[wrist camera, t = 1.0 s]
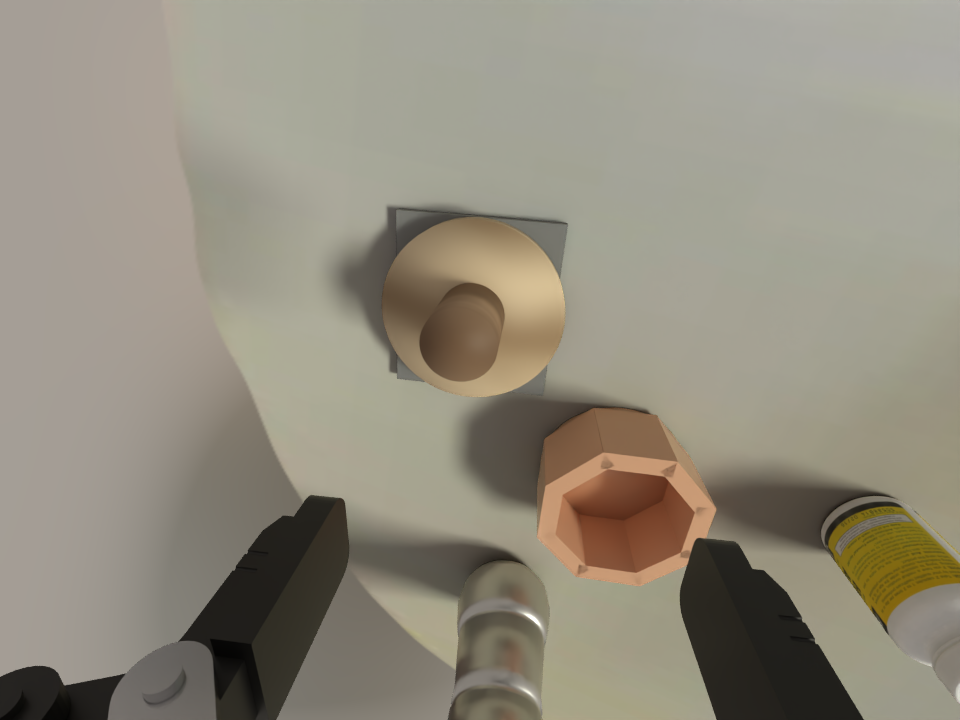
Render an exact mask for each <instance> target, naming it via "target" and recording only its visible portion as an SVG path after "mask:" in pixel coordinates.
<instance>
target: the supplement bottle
mask: <svg viewBox="0 0 960 720" xmlns="http://www.w3.org/2000/svg"><path fill="white" fill-rule="evenodd" d="M821 538H822V542H823V544H824V546H825V548H826V549H827V551H828V552H829V554H830V555H831V557H832V558H833V559H834V561H835V562H836V563H837V565H838V566H839V567H840V569H841V570H842V572H843V573H844V574H845V576H846V577H847V578H848V580H849V581H850V583H851V584H852V585H853V587H854V588H855V589H856V591H857V592H858V593H859V595H860V596H861V598H862V599H863V600H864V602H865V603H866V604H867V606H868V607H869V608H870V610H871V611H872V613H873V614H874V615H875V617H876V618H877V620H878V621H879V622H880V624H881V625H882V626H883V628H884V629H885V631H886V632H887V634H888V635H889V636H890V637H891V639H892V640H893V641H894V642H895V644H896V645H897V646H898V647H899V648H900V649H901V650H902V651H903V652H904V653H905V654H907V655H908V656H909V657H911V658H913V659H914V660H916V661H918V662H920V663H923V664H925V665H928V666H932V667H933V670H934V671H935V673H936V675H937V677H938V678H939V680H940V681H941V682H942V683H943V684H944V685H945V687H946V688H947V689H948V691H949V692H950V693H951V694H952V696H953V697H954V698H955V700H956V701H957V702H958V703H959V704H960V554H959V553H958V552H957V551H956V550H955V549H954V548H953V547H952V546H951V545H950V544H949V543H948V542H947V541H946V540H945V539H944V538H943V537H942V536H941V535H940V534H939V533H938V532H936V531H935V530H934V529H933V528H932V527H931V526H930V525H929V524H928V523H927V522H926V521H925V520H924V519H923V518H922V517H921V516H920V515H919V514H917V513H916V512H915V511H914V510H913V509H912V508H911V507H910V506H908V505H907V504H905V503H904V502H902V501H900V500H897V499H894V498H890V497H884V496H868V497H862V498H857V499H854V500H851V501H849V502H847V503H845V504H843V505H841V506H839V507H838V508H836V509H835V510H834V511H833V512H832V513H831V514H830V515H829V516H828V517H827V519H826V520H825V522H824V524H823V526H822V529H821Z"/></svg>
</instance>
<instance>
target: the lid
mask: <svg viewBox="0 0 960 720" xmlns="http://www.w3.org/2000/svg"><path fill="white" fill-rule="evenodd" d="M382 315H383V321H384V326H385V329H386V332H387V335H388V338H389V340H390V342H391V344H392V346H393V348H394V350H395V351H396V353H397V354H398V356H399V357H400V359H401V360H402V361H403V362H404V364H405V365H406V366H407V367H408V368H409V369H410V370H411V371H412V372H413V373H414V374H416V375H417V376H418V377H420V378H421V379H422V380H424V381H425V382H427V383H429V384H430V385H432V386H434V387H436V388H438V389H441V390H443V391H446V392H449V393H452V394H456V395H461V396H468V397H488V396H494V395H499V394H503V393H506V392H509V391H512V390H514V389H516V388H519V387H521V386H522V385H524V384H526V383H527V382H529V381H530V380H531V379H533V378H534V377H535V376H537V375H538V374H539V373H540V372H541V371H542V370H543V369H544V368H545V367H546V365H547V364H548V363H549V361H550V360H551V358H552V357H553V355H554V353H555V352H556V350H557V348H558V345H559V343H560V340H561V338H562V334H563V329H564V324H565V300H564V295H563V290H562V284H561V281H560V278H559V276H558V273H557V271H556V269H555V267H554V265H553V263H552V261H551V260H550V258H549V257H548V255H547V254H546V252H545V251H544V250H543V249H542V248H541V247H540V246H539V245H538V243H537V242H535V241H534V240H533V239H532V238H531V237H529V236H528V235H527V234H525V233H524V232H522V231H521V230H519V229H517V228H516V227H513V226H511V225H509V224H507V223H504V222H501V221H498V220H494V219H489V218H483V217H463V218H455V219H452V220H448V221H444V222H442V223H439V224H437V225H435V226H432V227H431V228H429V229H427V230H426V231H424V232H422V233H421V234H419V235H418V236H416V237H415V238H414V239H413V240H411V241H410V242H409V243H408V244H407V245H406V246H405V247H404V248H403V249H402V250H401V251H400V253H399V254H398V256H397V257H396V258H395V260H394V261H393V263H392V265H391V267H390V269H389V271H388V274H387V277H386V280H385V283H384V288H383V293H382Z"/></svg>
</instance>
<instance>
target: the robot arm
mask: <svg viewBox="0 0 960 720" xmlns="http://www.w3.org/2000/svg"><path fill="white" fill-rule="evenodd" d="M348 557H349V540H348V529H347V519H346V508H345V502H344V500H343V499H342V498H334V497H324V496H315V495H310V496H309V497H308V498H307V499H306V500H305V501H304V503H303V504H302V506H301V507H300V509H299V510H298V511H297V513H296V514H295V516H294V517H292V516H282V517H281V518H279V519H278V520H277V521H275V522H274V523H273V524H271V525H270V526H269V527H267V528H266V529H264V530H263V531H262V532H261V534H260V535H259V536H258V538H257V539H256V540H255V542H254V543H253V544H252V546H251V547H250V548H249V550H248V553H247V554H245V555H244V556H243V557H242V559H241V560H240V562H239V563H238V564H237V565H236V569H235V571H232V572H231V573H230V575H229V576H228V578H227V579H226V580H225V581H224V583H223V584H222V586H221V587H220V588H219V590H218V591H217V592H216V593H215V595H214V596H213V598H212V599H211V600H210V601H209V603H208V604H207V605H206V607H205V608H204V609H203V611H202V612H201V613H200V615H199V616H198V617H197V619H196V620H195V621H194V623H193V624H192V626H191V627H190V628H189V629H188V631H187V632H186V633H185V635H184V636H183V637H182V638H181V639H180V640H179V641H178V642H175V643H171V644H169V645H166V646H163V647H161V648H159V649H157V650H155V651H153V652H152V653H150V654H148V655H147V656H145V657H144V658H143V659H141V660H140V661H139V662H137V663H136V664H135V665H134V666H133V667H132V668H131V669H130V670H129V671H128V672H127V673H126V674H122V675H117V676H113V677H107V678H102V679H97V680H92V681H87V682H81V683H76V684H71V685H66V686H64V685H63V683H62V680H61V678H60V676H59V674H58V673H57V672H56V671H55V670H54V669H52V668H50V667H46V666H32V667H26V668H22V669H19V670H16V671H13V672H10V673H8V674H6V675H3V676H1V677H0V720H276V719H277V717H278V715H279V713H280V710H281V708H282V706H283V704H284V702H285V700H286V698H287V696H288V693H289V691H290V689H291V687H292V685H293V682H294V681H295V678H296V676H297V674H298V672H299V670H300V668H301V665H302V663H303V661H304V659H305V657H306V655H307V653H308V651H309V649H310V646H311V644H312V642H313V640H314V638H315V636H316V634H317V631H318V629H319V627H320V625H321V623H322V621H323V618H324V616H325V614H326V612H327V610H328V608H329V606H330V604H331V601H332V599H333V597H334V595H335V593H336V591H337V589H338V586H339V584H340V582H341V580H342V578H343V576H344V573H345V570H346V567H347V563H348ZM680 608H681V613H682V618H683V621H684V624H685V627H686V630H687V633H688V636H689V639H690V642H691V645H692V648H693V651H694V654H695V657H696V659H697V662H698V665H699V668H700V671H701V674H702V677H703V680H704V683H705V686H706V689H707V692H708V695H709V698H710V701H711V704H712V707H713V710H714V713H715V716H716V719H717V720H864V719H863V718H862V716H861V714H860V713H859V711H858V709H857V708H856V706H855V704H854V703H853V701H852V699H851V698H850V696H849V694H848V693H847V691H846V690H845V688H844V686H843V685H842V683H841V681H840V680H839V678H838V676H837V675H836V673H835V671H834V670H833V668H832V666H831V665H830V663H829V661H828V660H827V658H826V656H825V655H824V653H823V652H822V650H821V648H820V647H819V645H818V644H816V643H815V638H814V637H813V635H812V633H811V632H810V630H809V628H808V627H807V625H806V623H803V622H802V617H801V615H800V614H799V612H798V610H797V609H796V607H795V605H794V604H793V602H792V600H791V599H790V597H789V595H788V594H787V592H786V591H785V590H784V589H783V588H782V587H781V586H779V585H778V584H777V583H776V582H775V581H774V580H773V579H772V578H771V577H770V576H769V575H768V574H767V573H766V572H765V571H764V570H756V569H752V567H751V566H750V564H749V562H748V560H747V558H746V557H745V555H744V553H743V551H742V549H741V548H740V546H739V545H738V544H737V543H736V542H734V541H725V540H716V539H706V538H697V539H696V540H695V542H694V544H693V547H692V550H691V554H690V557H689V561H688V564H687V567H686V571H685V574H684V578H683V581H682V584H681V589H680Z"/></svg>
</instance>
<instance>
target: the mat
mask: <svg viewBox="0 0 960 720" xmlns="http://www.w3.org/2000/svg"><path fill="white" fill-rule="evenodd" d="M463 217H483V218H489V219H494V220H498V221H501V222H504V223H507V224H509V225H511V226H513V227H516V228H517V229H519V230H521V231H522V232H524V233H525V234H527V235H528V236H529V237H531V238H532V239H533V240H534V241H535V242H537V243H538V245H539V246H540V247H541V248H542V249H543V250H544V251H545V252H546V254H547V255H548V257H549V258H550V260H551V261H552V263H553V265H554V267H555V269H556V271H557V273H558V276H559V278H560V275H561V268H562V261H563V254H564V247H565V240H566V234H567V227H568V224H567V223H558V222H547V221H535V220H524V219H512V218H501V217H490V216H478V215H467V214H455V213H444V212H432V211H421V210H410V209H397V210H396V257H397V256H398V254H399V253H400V251H401V250H402V249H403V248H404V247H405V246H406V245H407V244H408V243H409V242H410V241H411V240H413V239H414V238H415V237H416V236H418V235H419V234H421V233H422V232H424V231H426V230H427V229H429V228H431V227H432V226H435V225H437V224H439V223H442V222H444V221H448V220H452V219H455V218H463ZM546 371H547V365H546V367H545V368H544V369H543V370H542V371H541V372H540V373H539V374H538V375H537V376H535V377H534V378H533V379H531V380H530V381H529V382H527V383H526V384H524V385H522V386H521V387H519V388H516V389H514V390H512V391H509V392H514V393H523V394H531V395H540V396H543V392H544V385H545V378H546ZM397 379H405V380H413V381H421V382H425V381H424V380H422V379H421V378H420V377H418V376H417V375H416V374H414V373H413V372H412V371H411V370H410V369H409V368H408V367H407V366H406V365H405V364H404V362H403V361H402V360H401V359H400V357H399V356H398V354H397Z"/></svg>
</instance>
